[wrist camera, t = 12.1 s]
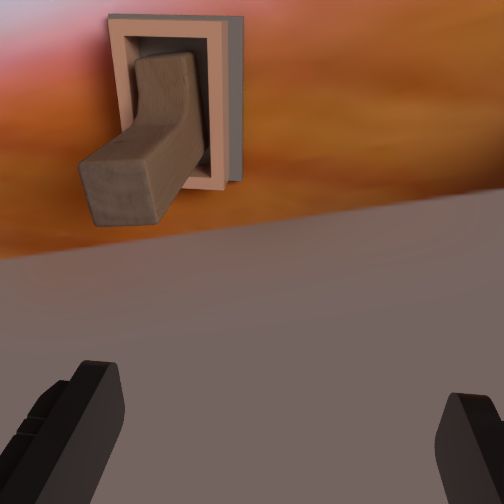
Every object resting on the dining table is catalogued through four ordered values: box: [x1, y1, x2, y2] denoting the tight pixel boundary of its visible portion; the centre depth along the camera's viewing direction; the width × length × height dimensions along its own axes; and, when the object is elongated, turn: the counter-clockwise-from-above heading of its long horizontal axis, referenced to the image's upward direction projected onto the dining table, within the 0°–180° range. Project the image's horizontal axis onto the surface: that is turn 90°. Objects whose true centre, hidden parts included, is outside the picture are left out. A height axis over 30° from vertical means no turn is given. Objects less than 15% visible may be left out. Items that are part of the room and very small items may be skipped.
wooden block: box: [78, 51, 208, 227], centre depth 34 cm, size 9×4×18 cm, turn 5°
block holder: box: [108, 14, 244, 190], centre depth 41 cm, size 12×15×4 cm
